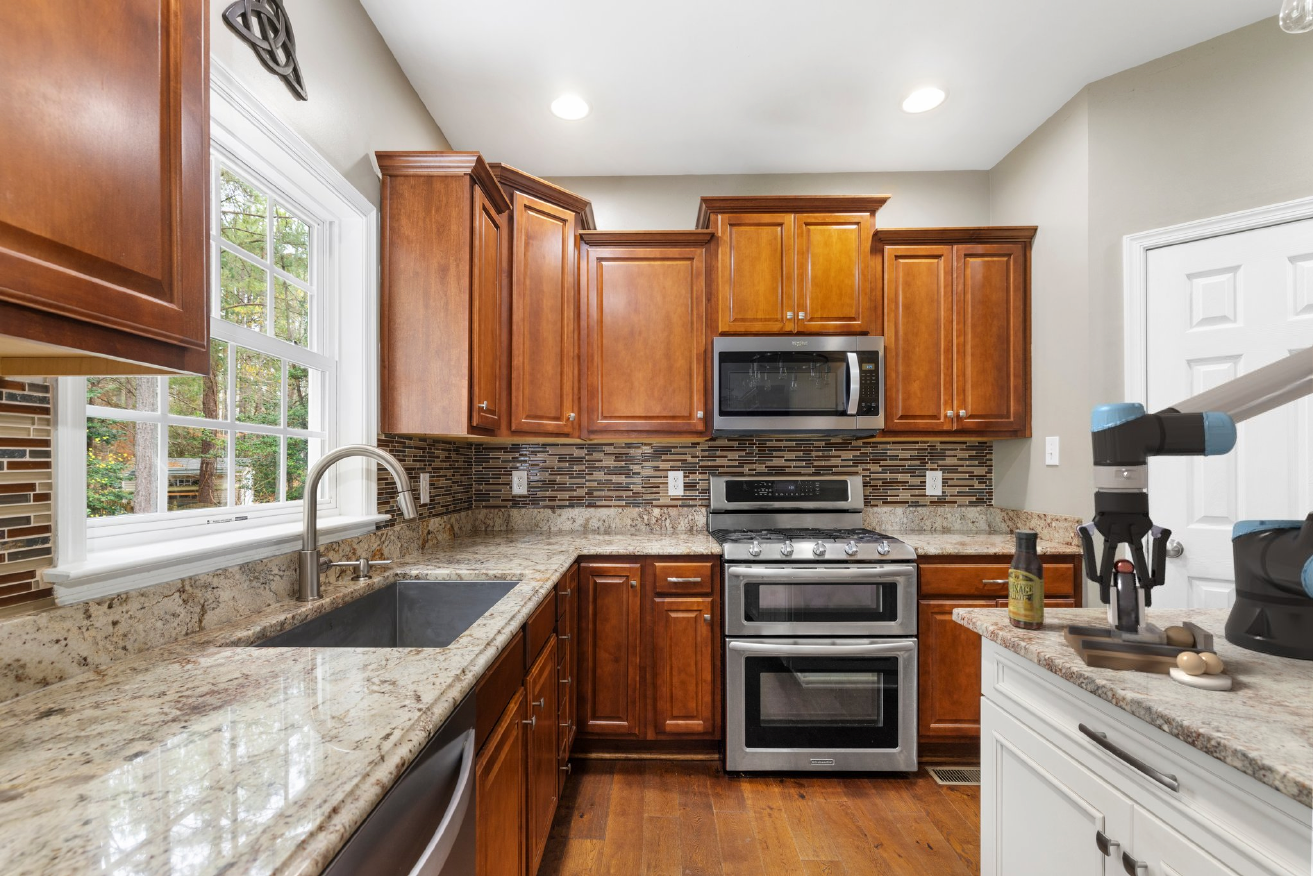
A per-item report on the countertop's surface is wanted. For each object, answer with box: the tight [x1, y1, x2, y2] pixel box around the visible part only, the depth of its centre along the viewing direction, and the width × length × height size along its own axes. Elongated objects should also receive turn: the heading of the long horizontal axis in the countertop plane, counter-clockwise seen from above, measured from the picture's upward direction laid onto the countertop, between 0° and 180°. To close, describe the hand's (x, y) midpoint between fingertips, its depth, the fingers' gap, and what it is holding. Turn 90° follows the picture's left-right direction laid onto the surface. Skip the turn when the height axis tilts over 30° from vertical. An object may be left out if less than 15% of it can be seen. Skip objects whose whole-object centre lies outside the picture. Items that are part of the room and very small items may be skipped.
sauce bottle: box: [1007, 529, 1045, 630], centre depth 121 cm, size 7×6×20 cm
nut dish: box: [1169, 652, 1233, 692], centre depth 90 cm, size 7×7×5 cm
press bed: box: [1063, 620, 1228, 676], centre depth 102 cm, size 18×16×6 cm
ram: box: [1109, 558, 1167, 646], centre depth 102 cm, size 6×6×15 cm
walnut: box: [1163, 625, 1194, 648], centre depth 99 cm, size 4×4×4 cm
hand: (1126, 623), depth 102 cm, fingers closed on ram, 3 cm apart
